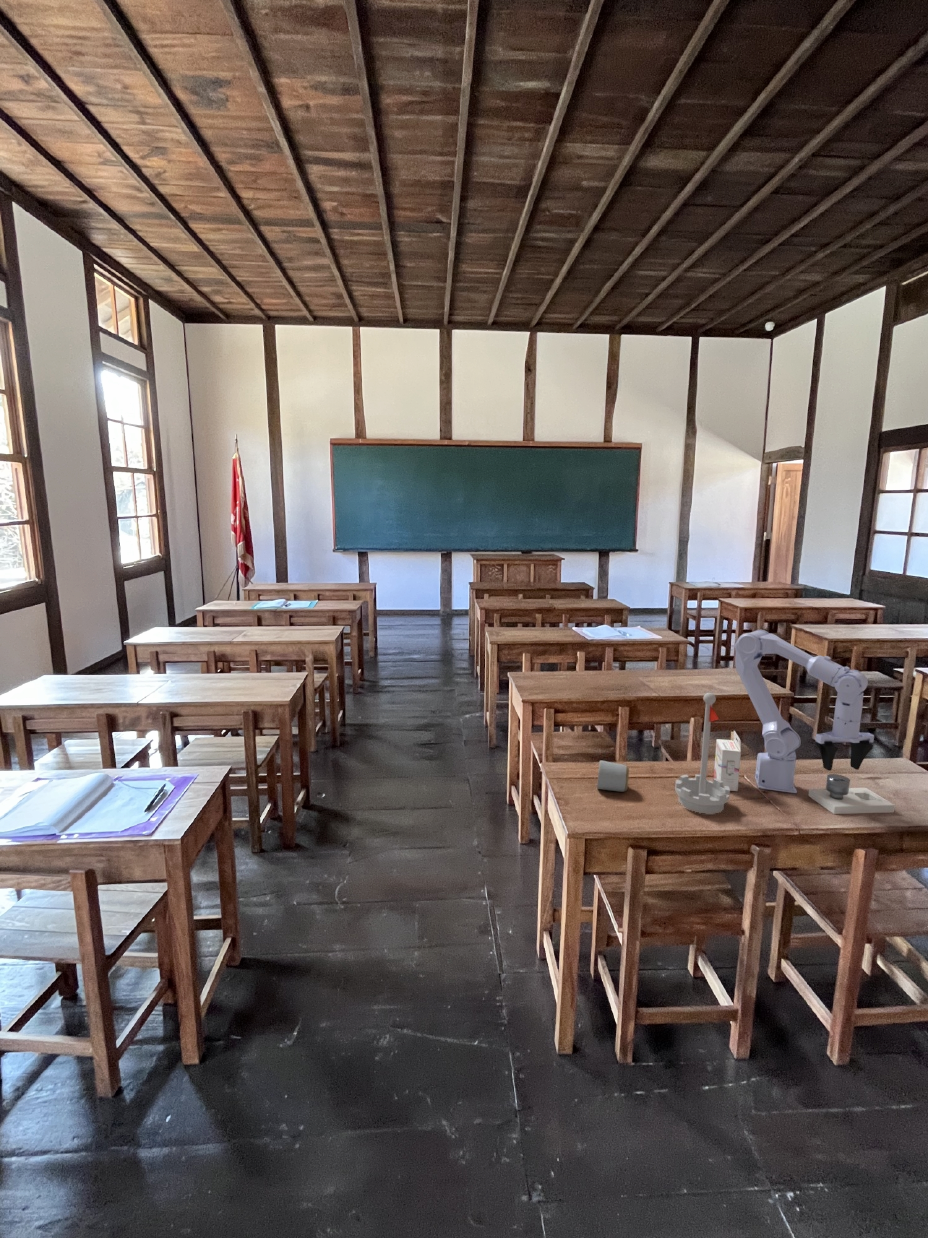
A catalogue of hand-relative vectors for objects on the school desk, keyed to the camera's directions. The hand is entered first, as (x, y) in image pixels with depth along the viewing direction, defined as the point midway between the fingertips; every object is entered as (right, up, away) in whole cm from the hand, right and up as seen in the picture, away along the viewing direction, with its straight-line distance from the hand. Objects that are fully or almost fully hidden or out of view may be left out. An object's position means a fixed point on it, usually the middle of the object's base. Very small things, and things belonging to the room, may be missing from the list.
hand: (840, 768), depth 153 cm
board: (+4, -10, +2) cm, 11 cm away
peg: (0, -8, +1) cm, 8 cm away
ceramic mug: (-57, -8, +11) cm, 58 cm away
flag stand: (-36, -10, +1) cm, 37 cm away
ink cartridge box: (-24, -8, +13) cm, 29 cm away
